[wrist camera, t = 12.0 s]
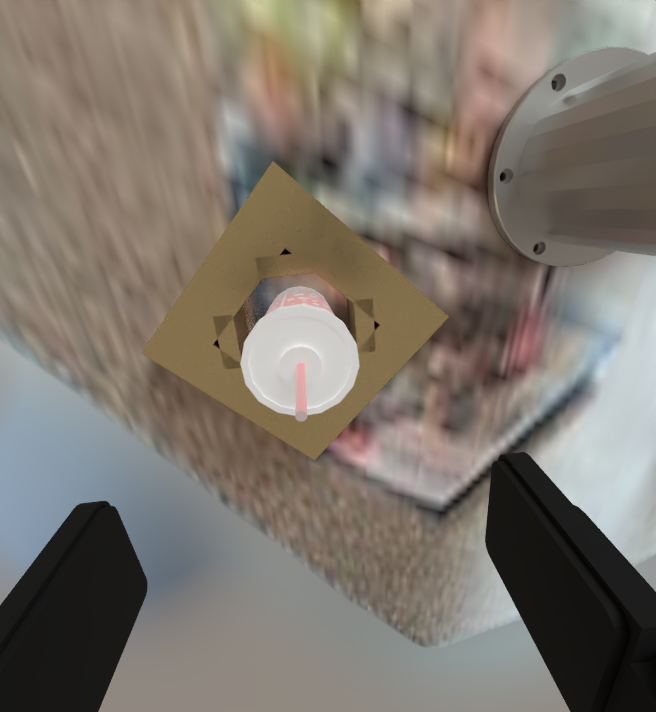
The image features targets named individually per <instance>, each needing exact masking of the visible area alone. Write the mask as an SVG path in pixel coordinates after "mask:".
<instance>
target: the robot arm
mask: <svg viewBox="0 0 656 712" xmlns="http://www.w3.org/2000/svg"><path fill="white" fill-rule="evenodd" d="M551 84H552V85H551ZM500 174H502V176H503V177H502V180H501V181H500ZM487 186H488V201H489V206H490V210H491V214H492V217H493V220H494V222H495V225H496V227H497V229H498V231H499V233H500V235H501V236H502V237H503V238H504V240H505V241H506V242H507V243H508V244H509V246H510V247H511V248H513V249H514V250H515V251H517V252H518V253H519V254H520V255H522V256H524V257H526V258H528V259H530V260H533V261H535V262H539V263H543V264H547V265H552V266H563V267H567V266H576V265H583V264H586V263H589V262H593V261H596V260H599V259H601V258H603V257H605V256H607V255H609V254H611V253H613V252H615V251H622V252H629V253H637V254H644V255H651V256H656V52H655V53H652V54H650V55H648V54H646V53H644V52H641V51H638V50H635V49H631V48H628V47H603V48H599V49H594V50H589V51H586V52H584V53H582V54H579V55H577V56H575V57H573V58H570V59H568V60H566V61H564V62H563V63H561V64H559V65H558V66H556V67H554V68H553V69H551V70H549V71H548V72H547V73H545V74H544V75H543V76H542V77H541V78H539V79H538V80H537V81H536V82H535V83H533V84H532V85H531V86H530V87H529V88H528V90H527V91H526V92H525V93H524V94H523V95H522V96H521V98H520V99H519V100H518V101H517V102H516V104H515V105H514V107H513V108H512V110H511V112H510V113H509V115H508V116H507V118H506V120H505V121H504V123H503V125H502V128H501V130H500V132H499V134H498V137H497V139H496V141H495V144H494V148H493V152H492V155H491V159H490V163H489V172H488V182H487ZM534 245H535V247H534ZM533 248H534V249H533ZM485 542H486V548H487V551H488V554H489V556H490V558H491V560H492V562H493V564H494V565H495V567H496V569H497V571H498V573H499V575H500V577H501V579H502V581H503V583H504V585H505V587H506V589H507V591H508V592H509V594H510V596H511V598H512V600H513V602H514V604H515V606H516V608H517V610H518V612H519V614H520V616H521V617H522V619H523V621H524V623H525V625H526V627H527V629H528V631H529V633H530V635H531V637H532V639H533V641H534V643H535V644H536V646H537V648H538V650H539V652H540V654H541V656H542V658H543V660H544V662H545V664H546V666H547V668H548V669H549V671H550V673H551V675H552V677H553V679H554V681H555V683H556V685H557V687H558V689H559V691H560V693H561V695H562V696H563V698H564V700H565V702H566V704H567V706H568V708H569V710H570V712H656V592H655V591H654V590H653V588H652V587H651V586H650V585H649V584H648V583H647V582H646V580H645V579H644V578H643V577H642V576H641V575H640V574H639V573H638V572H637V571H636V569H635V568H634V567H633V566H632V565H631V564H630V563H629V562H628V560H627V559H626V558H625V557H624V556H623V555H622V554H621V553H620V552H619V550H618V549H617V548H616V547H615V546H614V545H613V544H612V543H611V542H610V540H609V539H608V538H607V537H606V536H605V535H604V534H603V533H602V532H601V530H600V529H599V528H598V527H597V526H596V525H595V524H594V523H593V522H592V520H591V519H590V518H589V517H588V516H587V515H586V514H585V513H584V512H583V511H582V510H581V509H580V508H579V507H577V506H575V505H573V504H572V503H571V502H570V501H569V500H568V499H567V498H566V496H565V495H564V494H563V493H562V492H561V491H560V490H559V488H558V487H557V486H556V485H555V484H554V483H553V482H552V481H551V479H550V478H549V477H548V476H547V475H546V474H545V473H544V471H543V470H542V469H541V468H540V467H539V466H538V465H537V464H536V462H535V461H534V460H533V459H532V458H531V457H530V456H529V455H528V454H527V453H525V452H520V453H512V454H503V455H500V456H499V458H498V461H496V462H493V464H492V472H491V483H490V493H489V504H488V515H487V526H486V536H485ZM146 593H147V579H146V576H145V574H144V572H143V570H142V567H141V565H140V562H139V560H138V558H137V556H136V553H135V551H134V548H133V546H132V544H131V541H130V539H129V537H128V534H127V532H126V530H125V527H124V525H123V523H122V520H121V518H120V516H119V513H118V511H117V509H116V508H115V507H114V506H110V504H109V503H108V502H107V501H99V502H91V503H83V504H79V505H77V506H76V507H75V508H74V509H73V511H72V512H71V513H70V515H69V516H68V517H67V519H66V520H65V521H64V522H63V524H62V525H61V527H60V528H59V529H58V530H57V532H56V533H55V534H54V536H53V537H52V538H51V540H50V541H49V542H48V544H47V545H46V546H45V547H44V549H43V550H42V551H41V553H40V554H39V555H38V557H37V558H36V559H35V561H34V562H33V563H32V565H31V566H30V567H29V569H28V570H27V571H26V572H25V574H24V575H23V576H22V578H21V579H20V580H19V582H18V583H17V584H16V585H15V587H14V588H13V589H12V591H11V592H10V594H9V595H8V596H7V597H6V599H5V600H4V601H3V603H2V604H1V605H0V712H98V711H99V708H100V706H101V704H102V701H103V699H104V696H105V694H106V691H107V689H108V687H109V684H110V682H111V679H112V677H113V674H114V672H115V669H116V667H117V664H118V662H119V660H120V657H121V655H122V652H123V650H124V648H125V645H126V642H127V640H128V638H129V635H130V633H131V631H132V628H133V626H134V623H135V621H136V618H137V616H138V613H139V611H140V608H141V606H142V604H143V601H144V599H145V596H146Z"/></svg>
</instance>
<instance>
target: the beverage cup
mask: <svg viewBox="0 0 656 712" xmlns="http://www.w3.org/2000/svg"><path fill="white" fill-rule="evenodd" d="M240 364H241V368H242V372H243V376H244V380H245V384H246V386H247V387H248V388H249V389H250V391H251V392H252V393H253V395H254V396H255V397H256V398H257V400H258V401H259V402H260V403H262V404H264V405H266V406H267V407H269V408H271V409H272V410H274V411H276V412H278V413H283V414H288V415H294V416H295V418H296V419H297V420H298V421H301V422H302V421H305V420H306V419H307V415H312V414H318V413H322V412H324V411H325V410H327V409H329V408H331V407H333V406H334V405H336V404H338V403H340V402H341V400H342V399H343V398H344V397H345V396H346V394H347V393H348V392H349V391H350V390H351V388H352V387H353V386H354V383H355V379H356V376H357V373H358V370H359V358H358V349H357V344H356V342H355V340H354V339H353V337H352V335H351V334H350V332H349V330H348V329H347V327H346V326H345V324H344V322H343V321H341V320H340V319H339V318H337V317H336V316H335V315H334V313H333V312H332V310H331V308H330V307H329V305H328V303H327V302H326V300H325V298H324V297H323V296H322V295H321V294H319V293H318V292H317V291H315V290H314V289H311V288H307V287H302V286H299V287H293V288H288V289H287V290H285V291H283V292H282V293H280V294H278V296H277V297H276V299H275V300H274V301H273V303H272V304H271V306H270V308H269V309H268V311H267V313H266V315H265V316H264V317H262V318H261V319H259V321H258V322H257V324H256V325H255V326H254V328H253V329H252V331H251V332H250V334H249V335H248V336H247V338H246V340H245V342H244V347H243V352H242V358H241V363H240Z"/></svg>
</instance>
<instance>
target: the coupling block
mask: <svg viewBox="0 0 656 712" xmlns="http://www.w3.org/2000/svg"><path fill="white" fill-rule="evenodd" d="M312 272H315V273H316V274H318V275H319V276H320V277H321V278H323V279H324V280H325V281H326V282H328V283H329V284H330V285H331V286H333V287H334V288H335V289H336V290H337V291H339V292H340V293H341V294H342V295H344V296H345V297H346V298H347V304H348V316H349V328H350V334H351V335H352V337H353V339H354V340H355V342H356V344H357V349H358V358H359V370H358V373H357V376H356V379H355V383H354V386H353V387H352V388H351V390H350V391H349V392H348V393H347V394H346V396H345V397H344V398H343V399H342V400H341V402H340V403H338V404H336V405H334V406H333V407H331V408H329V409H327V410H325V411H324V412H322V413H318V414H312V415H307V419H306V420H305V421H302V422H301V421H298V420H297V419H296V418H295V416H294V415H288V414H283V413H278V412H276V411H274V410H272V409H271V408H269V407H267V406H266V405H264V404H262V403H260V402H259V401H258V400H257V398H256V397H255V396H254V395H253V393H252V392H251V391H250V389H249V388H248V387H247V386H246V384H245V380H244V376H243V372H242V368H241V364H240V363H241V358H242V352H243V347H244V342H245V340H246V338H247V336H248V331H247V326H246V320H245V315H244V310H243V304H244V302H245V301H246V300H247V298H248V297H249V296H250V294H251V293H252V292H253V290H254V289H255V288H256V286H257V285H258V284H259V282H260V281H261V280H262V278H268V277H277V276H286V275H295V274H304V273H312ZM448 317H449V316H448V315H447V314H445V313H444V312H443V311H442V310H441V309H440V308H439V307H437V306H436V305H435V304H434V303H433V302H432V301H431V300H430V299H428V298H427V297H426V296H425V295H424V294H423V293H422V292H420V291H419V290H418V289H417V288H416V287H415V286H414V285H413V284H411V283H410V282H409V281H408V280H407V279H406V278H405V277H403V276H402V275H401V274H400V273H399V272H398V271H397V270H396V269H394V268H393V267H392V266H391V265H390V264H389V263H388V262H386V261H385V260H384V259H383V258H382V257H381V256H380V255H379V254H377V253H376V252H375V251H374V250H373V249H372V248H371V247H369V246H368V245H367V244H366V243H365V242H364V241H363V240H362V239H360V238H359V237H358V236H357V235H356V234H355V233H354V232H353V231H351V230H350V229H349V228H348V227H347V226H346V225H345V224H343V223H342V222H341V221H340V220H339V219H338V218H337V217H336V216H334V215H333V214H332V213H331V212H330V211H329V210H328V209H326V208H325V207H324V206H323V205H322V204H321V203H320V202H319V201H317V200H316V199H315V198H314V197H313V196H312V195H311V194H309V193H308V192H307V191H306V190H305V189H304V188H303V187H302V186H300V185H299V184H298V183H297V182H296V181H295V180H294V179H292V178H291V177H290V176H289V175H288V174H287V173H286V172H285V171H283V170H282V169H281V168H280V167H279V166H278V165H277V164H275V163H274V162H272V163H271V165H270V166H269V168H268V169H267V171H266V172H265V173H264V175H263V176H262V178H261V179H260V181H259V182H258V184H257V185H256V187H255V188H254V190H253V191H252V192H251V194H250V195H249V197H248V198H247V200H246V201H245V203H244V204H243V206H242V207H241V208H240V210H239V211H238V213H237V214H236V216H235V217H234V219H233V220H232V222H231V223H230V224H229V226H228V227H227V229H226V230H225V232H224V233H223V235H222V236H221V238H220V239H219V240H218V242H217V243H216V245H215V246H214V248H213V249H212V251H211V252H210V254H209V255H208V257H207V258H206V259H205V261H204V262H203V264H202V265H201V267H200V268H199V270H198V271H197V273H196V274H195V275H194V277H193V278H192V280H191V281H190V283H189V284H188V286H187V287H186V289H185V290H184V291H183V293H182V294H181V296H180V297H179V299H178V300H177V302H176V303H175V305H174V306H173V307H172V309H171V310H170V312H169V313H168V315H167V316H166V318H165V319H164V321H163V322H162V324H161V325H160V326H159V328H158V329H157V331H156V332H155V334H154V335H153V337H152V338H151V340H150V341H149V342H148V344H147V345H146V347H145V348H144V350H143V351H142V354H143V355H145V356H146V357H148V358H150V359H151V360H153V361H155V362H156V363H158V364H159V365H161V366H163V367H164V368H166V369H167V370H169V371H171V372H172V373H174V374H176V375H177V376H179V377H180V378H182V379H184V380H185V381H187V382H189V383H190V384H192V385H193V386H195V387H197V388H198V389H200V390H201V391H203V392H205V393H206V394H208V395H210V396H211V397H213V398H214V399H216V400H218V401H219V402H221V403H222V404H224V405H226V406H227V407H229V408H231V409H232V410H234V411H235V412H237V413H239V414H240V415H242V416H244V417H245V418H247V419H248V420H250V421H252V422H253V423H255V424H256V425H258V426H260V427H261V428H263V429H265V430H266V431H268V432H269V433H271V434H273V435H274V436H276V437H278V438H279V439H281V440H282V441H284V442H286V443H287V444H289V445H290V446H292V447H294V448H295V449H297V450H299V451H300V452H302V453H303V454H305V455H307V456H308V457H310V458H312V459H313V460H315V459H316V458H317V457H318V456H319V455H320V454H321V453H322V452H323V451H324V450H325V449H326V448H327V447H328V446H329V444H330V443H331V442H332V441H333V440H334V439H335V438H336V437H337V436H338V435H339V434H340V433H341V432H342V431H343V430H344V428H345V427H346V426H347V425H348V424H349V423H350V422H351V421H352V420H353V419H354V418H355V417H356V416H357V415H358V413H359V412H360V411H361V410H362V409H363V408H364V407H365V406H366V405H367V404H368V403H369V402H370V401H371V400H372V399H373V397H374V396H375V395H376V394H377V393H378V392H379V391H380V390H381V389H382V388H383V387H384V386H385V385H386V384H387V383H388V381H389V380H390V379H391V378H392V377H393V376H394V375H395V374H396V373H397V372H398V371H399V370H400V369H401V368H402V367H403V365H404V364H405V363H406V362H407V361H408V360H409V359H410V358H411V357H412V356H413V355H414V354H415V353H416V352H417V350H418V349H419V348H420V347H421V346H422V345H423V344H424V343H425V342H426V341H427V340H428V339H429V338H430V337H431V336H432V334H433V333H434V332H435V331H436V330H437V329H438V328H439V327H440V326H441V325H442V324H443V323H444V322H445V321H446V320H447V318H448Z"/></svg>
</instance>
